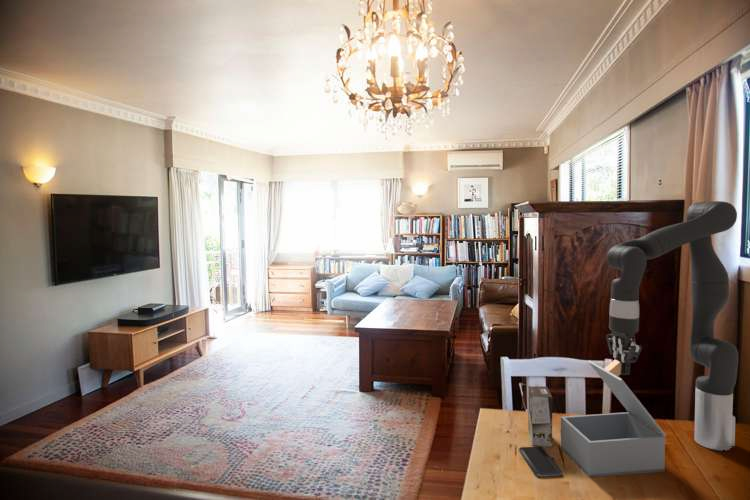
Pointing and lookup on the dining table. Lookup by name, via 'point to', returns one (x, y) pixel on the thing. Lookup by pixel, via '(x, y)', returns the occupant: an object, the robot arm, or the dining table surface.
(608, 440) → the carton box
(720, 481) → the dining table surface
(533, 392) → the coffee box
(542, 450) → the phone
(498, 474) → the dining table surface
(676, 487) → the dining table surface
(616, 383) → the grey box lid
